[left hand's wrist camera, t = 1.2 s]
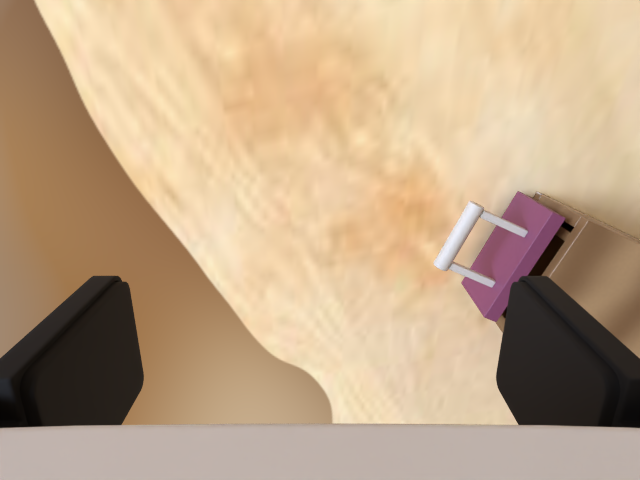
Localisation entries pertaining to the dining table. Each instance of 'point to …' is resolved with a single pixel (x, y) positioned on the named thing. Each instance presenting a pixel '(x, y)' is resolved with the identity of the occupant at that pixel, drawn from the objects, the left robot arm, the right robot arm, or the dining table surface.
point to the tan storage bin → (598, 272)
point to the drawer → (505, 250)
